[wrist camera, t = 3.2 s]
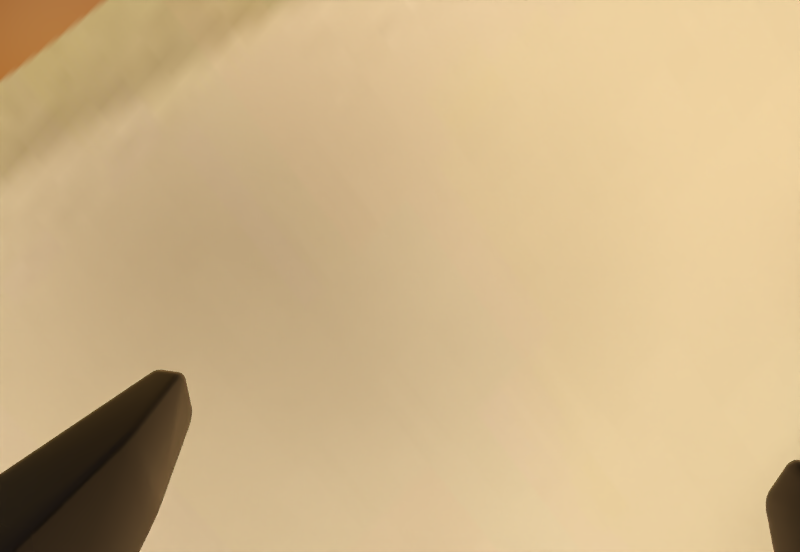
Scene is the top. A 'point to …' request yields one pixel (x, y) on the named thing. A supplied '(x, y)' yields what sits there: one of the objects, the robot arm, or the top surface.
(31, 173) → the top surface
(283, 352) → the top surface
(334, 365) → the top surface
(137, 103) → the top surface
